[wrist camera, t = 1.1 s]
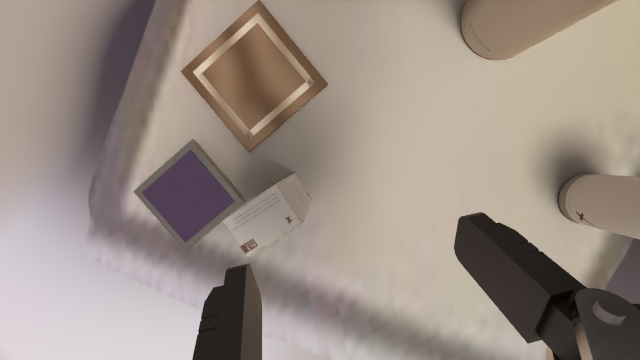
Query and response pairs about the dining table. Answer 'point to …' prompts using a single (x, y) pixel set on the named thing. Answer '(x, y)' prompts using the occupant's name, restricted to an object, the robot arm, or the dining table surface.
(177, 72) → the dining table surface
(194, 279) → the dining table surface
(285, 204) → the skincare box
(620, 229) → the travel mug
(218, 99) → the marked board
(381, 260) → the dining table surface
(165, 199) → the ink pad
